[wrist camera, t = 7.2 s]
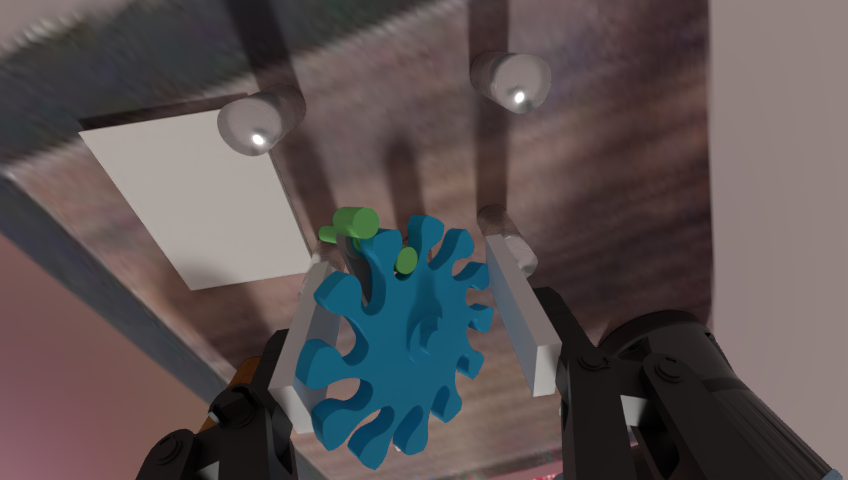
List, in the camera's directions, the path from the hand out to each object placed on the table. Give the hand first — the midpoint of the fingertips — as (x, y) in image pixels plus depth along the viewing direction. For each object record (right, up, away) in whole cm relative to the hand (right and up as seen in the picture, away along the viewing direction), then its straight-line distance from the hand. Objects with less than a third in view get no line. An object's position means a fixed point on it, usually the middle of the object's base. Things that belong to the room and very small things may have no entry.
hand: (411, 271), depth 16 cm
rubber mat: (-18, +4, +13) cm, 22 cm away
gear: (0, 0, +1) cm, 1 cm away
